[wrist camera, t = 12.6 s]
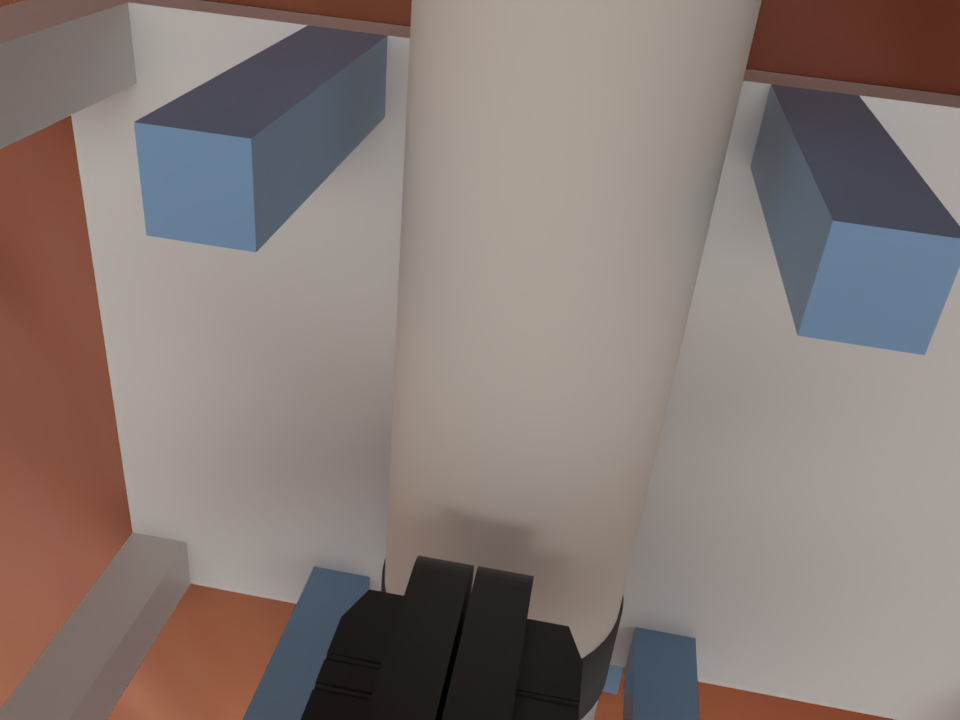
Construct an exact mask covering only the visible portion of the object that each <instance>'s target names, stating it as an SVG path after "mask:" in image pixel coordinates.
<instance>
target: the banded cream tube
mask: <svg viewBox="0 0 960 720" xmlns="http://www.w3.org/2000/svg"><path fill="white" fill-rule="evenodd" d="M761 1H762V0H412V5H411V26H410V47H409V69H408V90H407V112H406V133H405V154H404V176H403V197H402V219H401V240H400V261H399V283H398V304H397V326H396V347H395V368H394V390H393V411H392V433H391V454H390V475H389V497H388V518H387V540H386V558H385V561H384V565H383V570H382V583H381V592H387V593H392V594H397V595H403V596H404V594H405V591H406V588H407V585H408V582H409V578H410V575H411V572H412V569H413V566H414V563H415V561H416V558H417V557H418V556H425V557H430V558H436V559H441V560H447V561H452V562H458V563H463V564H468V565H474V574H473V583H472V588H473V584H474V580H475V575H476V572H477V568H478V566H481V567H486V568H492V569H497V570H503V571H508V572H514V573H519V574H525V575H530V576H534V578H533V585H532V591H531V597H530V604H529V610H528V617H527V619H532V620H538V621H543V622H548V623H554V624H559V625H564V626H569V628H570V631H571V633H572V636H573V638H574V641H575V643H576V646H577V649H578V651H579V654H580V656H581V659H582V661H583V669H582V681H581V694H580V703H579V718H578V720H594V717H595V713H596V709H597V705H598V700H599V697H600V695H601V693H602V691H603V688H604V686H605V682H606V678H607V675H608V670H609V666H610V662H611V658H612V653H613V649H614V645H615V641H616V636H617V632H618V628H619V624H620V619H621V615H622V611H623V601H624V595H623V593H624V589H625V585H626V580H627V576H628V572H629V567H630V563H631V559H632V555H633V550H634V546H635V542H636V537H637V533H638V529H639V525H640V520H641V516H642V512H643V507H644V503H645V499H646V494H647V490H648V486H649V482H650V477H651V473H652V469H653V464H654V460H655V456H656V452H657V447H658V443H659V439H660V434H661V430H662V426H663V422H664V417H665V413H666V409H667V404H668V400H669V396H670V392H671V387H672V383H673V379H674V374H675V370H676V366H677V362H678V357H679V353H680V349H681V344H682V340H683V336H684V332H685V327H686V323H687V319H688V314H689V310H690V306H691V302H692V297H693V293H694V289H695V284H696V280H697V276H698V272H699V267H700V263H701V259H702V254H703V250H704V246H705V242H706V237H707V233H708V229H709V224H710V220H711V216H712V211H713V207H714V203H715V199H716V194H717V190H718V186H719V181H720V177H721V173H722V169H723V164H724V160H725V156H726V151H727V147H728V143H729V139H730V134H731V130H732V126H733V121H734V117H735V113H736V109H737V104H738V100H739V96H740V91H741V87H742V83H743V79H744V74H745V70H746V66H747V61H748V57H749V53H750V49H751V44H752V40H753V36H754V31H755V27H756V23H757V19H758V14H759V10H760V6H761Z"/></svg>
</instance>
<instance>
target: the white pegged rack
mask: <svg viewBox="0 0 960 720" xmlns="http://www.w3.org/2000/svg"><path fill="white" fill-rule="evenodd" d="M409 47H410V27H409V26H401V25H393V24H386V23H378V22H370V21H362V20H354V19H346V18H338V17H330V16H322V15H314V14H306V13H298V12H290V11H282V10H274V9H266V8H258V7H251V6H243V5H235V4H227V3H219V2H211V1H203V0H24V1H21V2H17V3H13V4H9V5H6V6H2V7H0V149H2V148H4V147H6V146H8V145H10V144H12V143H14V142H17V141H19V140H21V139H23V138H25V137H27V136H29V135H31V134H33V133H35V132H37V131H39V130H41V129H43V128H45V127H48V126H50V125H52V124H54V123H56V122H58V121H60V120H62V119H64V118H66V117H68V116H70V115H71V118H72V125H73V131H74V138H75V145H76V152H77V159H78V165H79V172H80V179H81V186H82V192H83V199H84V206H85V213H86V220H87V226H88V233H89V240H90V247H91V253H92V260H93V267H94V274H95V281H96V287H97V294H98V301H99V308H100V314H101V321H102V328H103V335H104V342H105V348H106V355H107V362H108V369H109V375H110V382H111V389H112V396H113V402H114V409H115V416H116V423H117V430H118V436H119V443H120V450H121V457H122V463H123V470H124V477H125V484H126V491H127V497H128V504H129V511H130V518H131V524H132V531H133V532H132V534H131V535H130V536H129V538H128V539H127V540H126V542H125V543H124V544H123V546H122V547H121V548H120V550H119V551H118V552H117V554H116V555H115V556H114V558H113V559H112V561H111V562H110V563H109V565H108V566H107V567H106V569H105V570H104V571H103V573H102V574H101V575H100V577H99V578H98V579H97V581H96V582H95V583H94V585H93V586H92V587H91V589H90V590H89V591H88V593H87V594H86V595H85V597H84V598H83V599H82V601H81V602H80V603H79V605H78V606H77V607H76V609H75V610H74V611H73V613H72V614H71V615H70V617H69V618H68V619H67V621H66V622H65V623H64V625H63V626H62V627H61V629H60V630H59V631H58V633H57V634H56V635H55V637H54V638H53V639H52V641H51V642H50V643H49V645H48V646H47V647H46V649H45V650H44V651H43V653H42V654H41V655H40V657H39V658H38V659H37V661H36V662H35V663H34V665H33V666H32V667H31V669H30V670H29V672H28V673H27V674H26V676H25V677H24V678H23V680H22V681H21V682H20V684H19V685H18V686H17V688H16V689H15V690H14V692H13V693H12V694H11V696H10V697H9V698H8V700H7V701H6V702H5V704H4V705H3V706H2V708H1V709H0V720H106V719H107V718H108V716H109V715H110V713H111V711H112V710H113V708H114V707H115V705H116V703H117V702H118V700H119V698H120V697H121V695H122V694H123V692H124V690H125V689H126V687H127V686H128V684H129V682H130V681H131V679H132V678H133V676H134V674H135V673H136V671H137V669H138V668H139V666H140V665H141V663H142V661H143V660H144V658H145V657H146V655H147V653H148V652H149V650H150V648H151V647H152V645H153V644H154V642H155V640H156V639H157V637H158V636H159V634H160V632H161V631H162V629H163V627H164V626H165V624H166V623H167V621H168V619H169V618H170V616H171V615H172V613H173V611H174V610H175V608H176V606H177V605H178V603H179V602H180V600H181V598H182V597H183V595H184V594H185V592H186V590H187V589H188V587H189V585H190V584H196V585H201V586H206V587H211V588H217V589H222V590H227V591H232V592H237V593H242V594H248V595H253V596H258V597H263V598H268V599H274V600H279V601H284V602H289V603H294V604H296V606H295V608H294V610H293V613H292V615H291V617H290V619H289V621H288V623H287V625H286V628H285V630H284V632H283V634H282V636H281V638H280V640H279V643H278V645H277V647H276V649H275V651H274V653H273V655H272V658H271V660H270V662H269V664H268V666H267V668H266V671H265V673H264V675H263V677H262V679H261V681H260V683H259V686H258V688H257V690H256V692H255V694H254V696H253V698H252V701H251V703H250V705H249V707H248V709H247V711H246V713H245V716H244V718H243V720H301V717H302V715H303V712H304V710H305V707H306V705H307V702H308V700H309V697H310V694H311V692H312V689H314V687H315V682H316V679H317V677H318V674H319V672H320V669H321V667H322V664H323V662H324V659H326V656H327V651H328V649H329V646H330V644H331V641H332V639H333V636H334V634H335V631H336V629H337V626H338V623H339V621H340V618H341V616H343V615H344V614H345V613H346V612H347V611H348V610H349V609H350V608H351V607H352V606H353V605H354V604H355V603H356V602H357V601H358V600H359V599H360V598H361V597H362V596H363V595H364V594H365V593H366V592H367V591H368V590H369V589H371V590H376V591H381V583H382V570H383V565H384V561H385V558H386V540H387V518H388V497H389V475H390V454H391V433H392V411H393V390H394V368H395V347H396V326H397V304H398V283H399V261H400V240H401V219H402V197H403V176H404V154H405V133H406V112H407V90H408V69H409ZM623 595H624V601H623V611H622V615H621V619H620V624H619V628H618V632H617V636H616V641H615V645H614V649H613V653H612V658H611V662H610V666H609V670H608V675H607V678H606V682H605V686H604V688H603V691H602V692H606V693H611V694H616V695H617V693H618V689H619V685H620V681H621V677H622V672H623V668H624V667H625V690H624V717H623V720H699V700H698V682H704V683H709V684H714V685H719V686H724V687H730V688H735V689H740V690H745V691H750V692H755V693H761V694H766V695H771V696H776V697H781V698H787V699H792V700H797V701H802V702H807V703H812V704H818V705H823V706H828V707H833V708H838V709H844V710H849V711H854V712H859V713H864V714H869V715H875V716H880V717H885V718H890V719H895V720H960V96H957V95H949V94H941V93H933V92H925V91H918V90H910V89H902V88H894V87H886V86H878V85H870V84H862V83H854V82H846V81H838V80H830V79H822V78H814V77H806V76H798V75H790V74H783V73H775V72H767V71H759V70H751V69H746V70H745V74H744V79H743V83H742V87H741V91H740V96H739V100H738V104H737V109H736V113H735V117H734V121H733V126H732V130H731V134H730V139H729V143H728V147H727V151H726V156H725V160H724V164H723V169H722V173H721V177H720V181H719V186H718V190H717V194H716V199H715V203H714V207H713V211H712V216H711V220H710V224H709V229H708V233H707V237H706V242H705V246H704V250H703V254H702V259H701V263H700V267H699V272H698V276H697V280H696V284H695V289H694V293H693V297H692V302H691V306H690V310H689V314H688V319H687V323H686V327H685V332H684V336H683V340H682V344H681V349H680V353H679V357H678V362H677V366H676V370H675V374H674V379H673V383H672V387H671V392H670V396H669V400H668V404H667V409H666V413H665V417H664V422H663V426H662V430H661V434H660V439H659V443H658V447H657V452H656V456H655V460H654V464H653V469H652V473H651V477H650V482H649V486H648V490H647V494H646V499H645V503H644V507H643V512H642V516H641V520H640V525H639V529H638V533H637V537H636V542H635V546H634V550H633V555H632V559H631V563H630V567H629V572H628V576H627V580H626V585H625V589H624V593H623Z"/></svg>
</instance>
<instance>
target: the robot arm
mask: <svg viewBox="0 0 960 720" xmlns="http://www.w3.org/2000/svg"><path fill="white" fill-rule="evenodd" d="M473 574H474V565H468V564H463V563H458V562H452V561H447V560H441V559H436V558H430V557H425V556H418V557H417V558H416V561H415V563H414V566H413V569H412V572H411V575H410V578H409V582H408V585H407V588H406V591H405V594H404V596H403V595H397V594H392V593H387V592H381V591H376V590H371V589H369V590H368V591H367V592H366V593H365V594H364V595H363V596H362V597H361V598H360V599H359V600H358V601H357V602H356V603H355V604H354V605H353V606H352V607H351V608H350V609H349V610H348V611H347V612H346V613H345V614H344V615H343V616H341V618H340V621H339V623H338V626H337V629H336V631H335V634H334V636H333V639H332V641H331V644H330V646H329V649H328V651H327V656H326V659H324V662H323V664H322V667H321V669H320V672H319V674H318V677H317V679H316V682H315V687H314V689H312V692H311V694H310V697H309V700H308V702H307V705H306V707H305V710H304V712H303V715H302V717H301V720H578V718H579V703H580V694H581V681H582V669H583V661H582V659H581V656H580V654H579V651H578V649H577V646H576V643H575V641H574V638H573V636H572V633H571V631H570V628H569V626H564V625H559V624H554V623H548V622H543V621H538V620H532V619H527V617H528V610H529V604H530V597H531V591H532V585H533V578H534V576H530V575H525V574H519V573H514V572H508V571H503V570H497V569H492V568H486V567H481V566H478V568H477V572H476V575H475V580H474V584H473V588H472V583H473Z"/></svg>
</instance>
